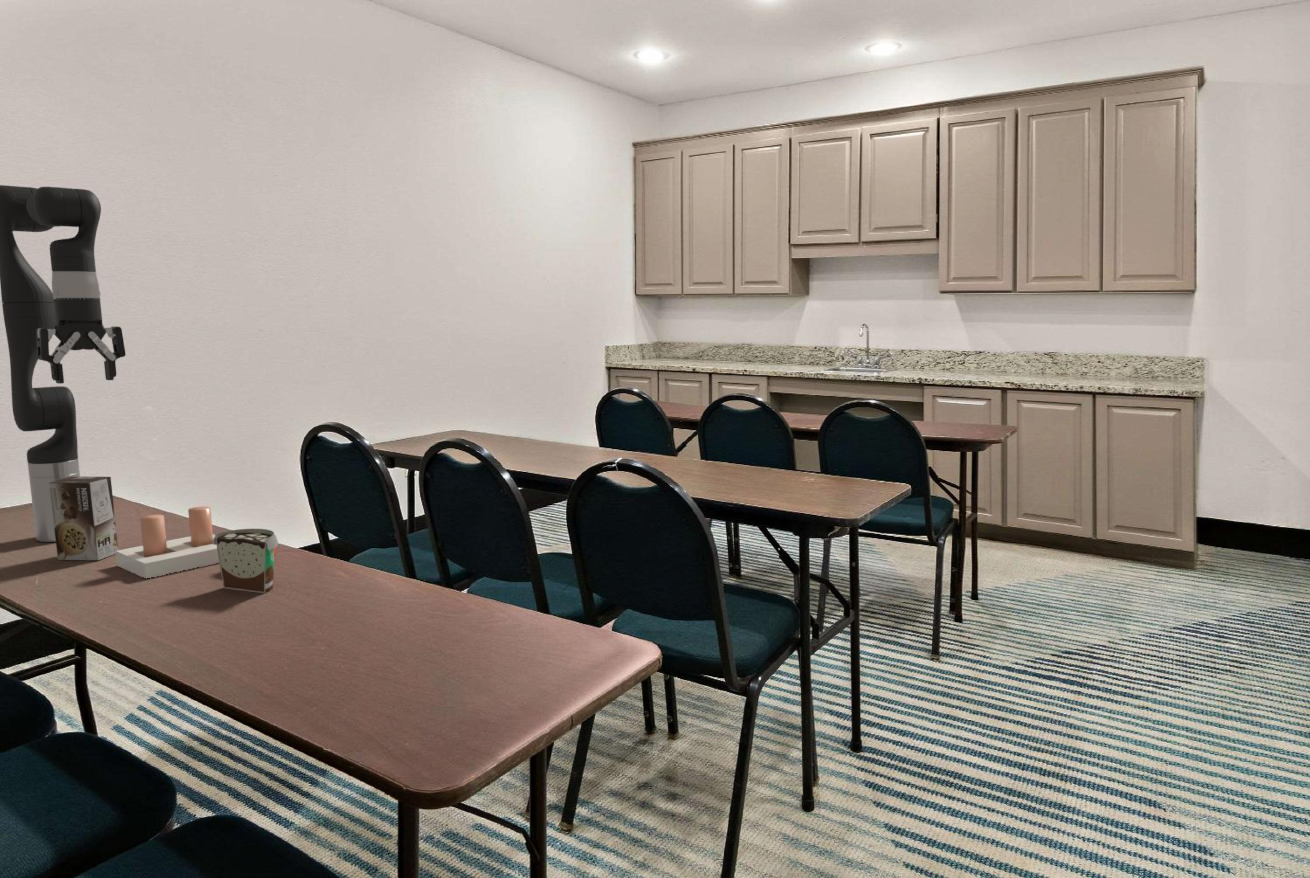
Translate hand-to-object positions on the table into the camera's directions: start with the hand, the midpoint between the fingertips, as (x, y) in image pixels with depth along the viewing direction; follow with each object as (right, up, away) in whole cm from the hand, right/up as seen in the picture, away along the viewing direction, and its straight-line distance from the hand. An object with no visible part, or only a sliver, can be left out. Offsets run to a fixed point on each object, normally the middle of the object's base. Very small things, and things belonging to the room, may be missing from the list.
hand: (85, 381), depth 171 cm
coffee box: (-6, -35, +10) cm, 37 cm away
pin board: (+15, -36, +6) cm, 39 cm away
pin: (+12, -36, +3) cm, 38 cm away
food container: (+37, -38, -9) cm, 54 cm away
